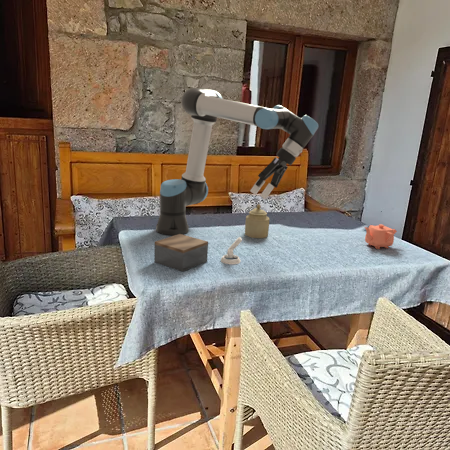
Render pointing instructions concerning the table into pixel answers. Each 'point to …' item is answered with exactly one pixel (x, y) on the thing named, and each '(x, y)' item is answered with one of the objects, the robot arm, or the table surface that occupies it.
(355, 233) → the table surface
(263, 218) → the sugar bowl
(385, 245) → the teapot
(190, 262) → the block
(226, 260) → the white ring with handle
